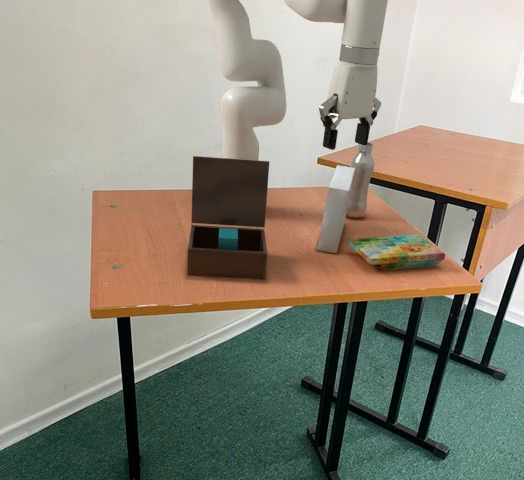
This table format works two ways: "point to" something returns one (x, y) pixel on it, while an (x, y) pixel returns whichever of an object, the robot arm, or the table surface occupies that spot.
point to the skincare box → (336, 209)
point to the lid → (229, 191)
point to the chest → (227, 253)
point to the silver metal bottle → (360, 180)
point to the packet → (228, 239)
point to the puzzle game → (397, 251)
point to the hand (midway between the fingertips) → (345, 146)
